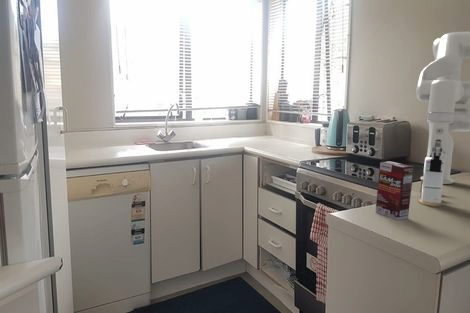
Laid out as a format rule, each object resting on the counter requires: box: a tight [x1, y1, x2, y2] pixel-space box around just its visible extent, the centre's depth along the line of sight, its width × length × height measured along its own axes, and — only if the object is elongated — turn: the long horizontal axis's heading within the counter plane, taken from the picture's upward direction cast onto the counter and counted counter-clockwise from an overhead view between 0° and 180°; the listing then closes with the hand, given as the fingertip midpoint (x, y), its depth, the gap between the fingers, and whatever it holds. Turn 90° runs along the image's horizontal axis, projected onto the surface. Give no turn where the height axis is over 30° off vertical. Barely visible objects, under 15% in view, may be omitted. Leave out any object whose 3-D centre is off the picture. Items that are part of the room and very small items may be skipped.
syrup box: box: [420, 156, 445, 203], centre depth 130 cm, size 6×6×14 cm
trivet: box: [418, 197, 443, 207], centre depth 132 cm, size 7×7×1 cm
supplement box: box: [375, 160, 415, 221], centre depth 116 cm, size 9×5×16 cm, turn 29°
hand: (434, 169), depth 130 cm, fingers open, 9 cm apart
